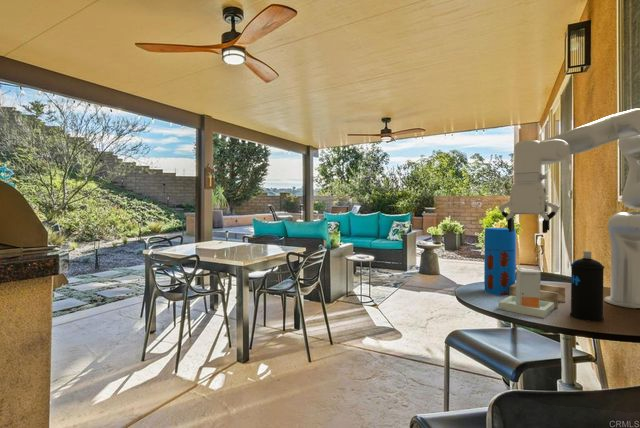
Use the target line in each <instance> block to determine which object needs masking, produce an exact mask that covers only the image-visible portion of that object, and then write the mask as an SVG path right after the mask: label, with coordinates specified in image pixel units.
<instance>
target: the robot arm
mask: <svg viewBox="0 0 640 428" xmlns="http://www.w3.org/2000/svg"><path fill="white" fill-rule="evenodd" d="M616 141H618V143H617V144H618V146H617V147H618V148H619V151H620V152H621V153H622V154H623V156H624V157H625V159H626V160H627V163H628V167H629V168H628V169H629V170H628V174H627V178H626V181H625V185H624V188H623V191H622V195H621V203H622V205H623V207H626V208H628V209H631V210H632V209H634V210H640V108H633V109H629V110H626V111H622V112H618V113H615V114H614V113H613V114H611V115H608V116H605V117H602V118H600V119H598V120H595V121H592V122H589V123H587V124H583V125H581V126H578V127H575V128H572V129H570V130H567V131H565V132H563V133H560V134H556V135H554V136H551V137H549V138H548V137H547V138H546V139H543V140H531V139H530V140H523V141H518V142H516V143H515V145H514V147H513V148H514V149H513V150H514V151H513V155H514V158H513V160H514V162H513V163H514V164H513V165H514V167H513V168H514V171H513V172H514V175H513V176H514V178H513V179H514V182H513V184H512V185H511V189H510V196H509V201H508V202H506V203H504V204H502V205H499V207H498V210H499V211H500V213H501V216H503V217H504V218H505V219H506V220H507V223H506V224H507V225H506V226H507V227H506V228H508V229H509V232H513V231H514V229H515V219H514V218H515V216H516V215H540V217H542V219H543V220H542V221H541V222H542V225H541V226H542V229H541V231H542V233H543V234H547V233H548V231H550V220H551V219H552V218H554V217H555V216H556V215H557V213H558V212H559V210H560V207H561V206H559V205H558V204H556V203H553V202H550V201H549V200H548V196H547V189H546V184H545V183H544V182H542V181H543V180H547V178H548V176H547V174H543V173H542V166H544V165H545V166H546V165H552V164H557V163H560V162H563V161H565V160H566V159H568V157H569V156H570V155H576V154H577V155H578V154H581V153H585V152H589V151H592V150H594V149H595V150H596V149H597V148H600V147H601V146H604V145H607V144H610V143H612V142H616ZM548 207H549V208H551V209H552V210H551V212H549V213H548ZM506 208H508V209H509V213H508V212H507V211H506ZM607 231H608V235H609V239H610V295H609V296H605V297H604V301H605V302H606V303H608V304H609V305H613V306H618V307H623V308H630V309H636V308H640V211H621V212H617V213H614V214H613V215H612V216H611V217H610V218H608V221H607Z"/></svg>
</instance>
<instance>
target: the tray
mask: <svg viewBox="0 0 640 428" xmlns="http://www.w3.org/2000/svg"><path fill="white" fill-rule="evenodd" d="M498 310H502V311H507V312H512V313H518V314H522V315H528V316H533V317H538V318H543V319H546V318H547V317H548V316H549V315H550V314H552V312H553V311H554V310H555V308H554V302H548V301H541V300H540V309H538V308H533V307H527V306H522V305H516V296H511V295H510V296H506V297H505V298H504V299H502V300H500V301H498Z"/></svg>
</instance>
